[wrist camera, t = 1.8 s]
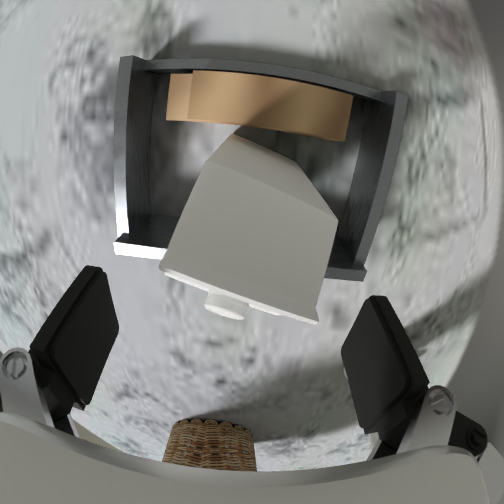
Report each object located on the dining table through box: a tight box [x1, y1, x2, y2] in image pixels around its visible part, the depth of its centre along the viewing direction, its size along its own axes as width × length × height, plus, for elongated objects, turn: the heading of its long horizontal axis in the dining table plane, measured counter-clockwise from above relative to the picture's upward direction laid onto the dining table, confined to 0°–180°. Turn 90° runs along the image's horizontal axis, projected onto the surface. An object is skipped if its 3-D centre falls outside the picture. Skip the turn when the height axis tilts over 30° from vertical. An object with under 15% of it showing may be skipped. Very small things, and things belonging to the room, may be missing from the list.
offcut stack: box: [166, 70, 353, 142], centre depth 21 cm, size 16×5×5 cm, turn 82°
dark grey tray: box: [114, 55, 408, 281], centre depth 23 cm, size 24×18×7 cm
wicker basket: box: [162, 419, 257, 472], centre depth 44 cm, size 35×35×33 cm
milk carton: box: [159, 134, 338, 325], centre depth 19 cm, size 7×7×19 cm
